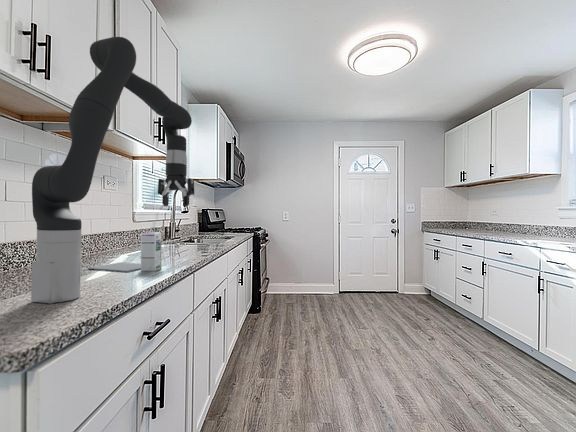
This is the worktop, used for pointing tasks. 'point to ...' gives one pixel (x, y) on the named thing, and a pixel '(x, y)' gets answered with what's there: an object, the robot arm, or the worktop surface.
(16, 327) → the worktop surface
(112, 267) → the mat
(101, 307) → the worktop surface
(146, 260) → the syrup box
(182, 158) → the robot arm
